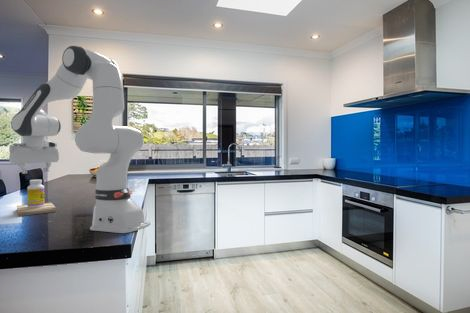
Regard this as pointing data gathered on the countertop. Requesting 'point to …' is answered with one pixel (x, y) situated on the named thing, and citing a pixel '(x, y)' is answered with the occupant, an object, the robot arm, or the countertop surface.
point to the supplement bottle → (35, 194)
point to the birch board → (35, 209)
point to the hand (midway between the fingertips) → (35, 172)
